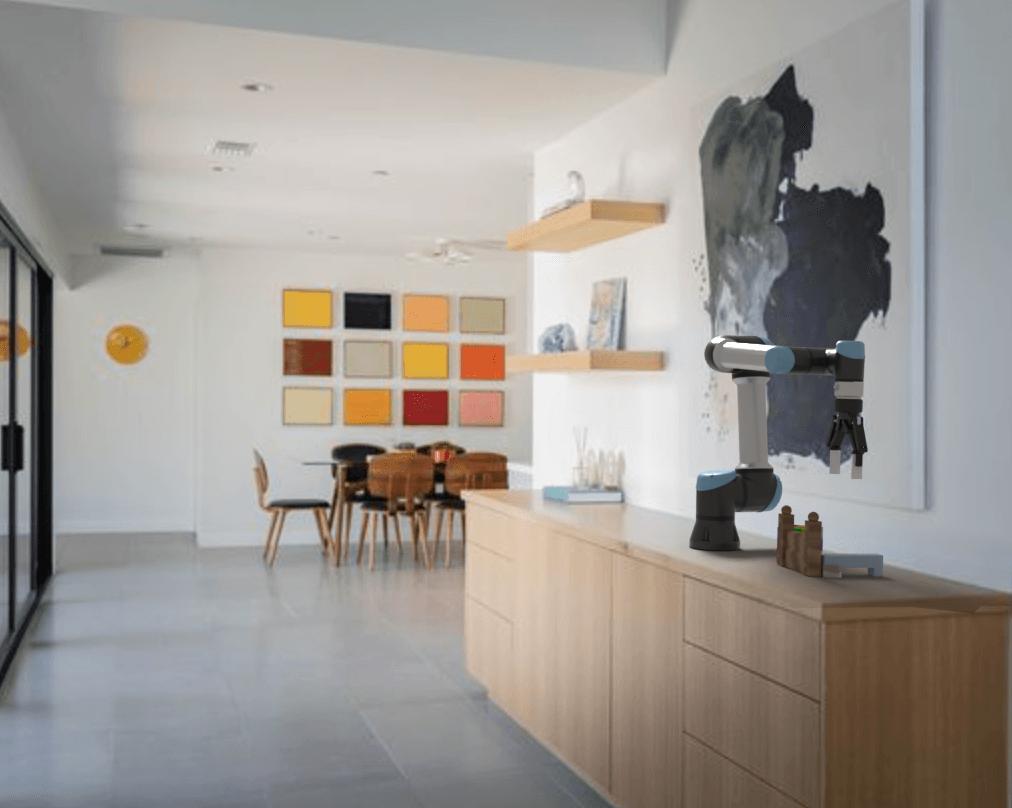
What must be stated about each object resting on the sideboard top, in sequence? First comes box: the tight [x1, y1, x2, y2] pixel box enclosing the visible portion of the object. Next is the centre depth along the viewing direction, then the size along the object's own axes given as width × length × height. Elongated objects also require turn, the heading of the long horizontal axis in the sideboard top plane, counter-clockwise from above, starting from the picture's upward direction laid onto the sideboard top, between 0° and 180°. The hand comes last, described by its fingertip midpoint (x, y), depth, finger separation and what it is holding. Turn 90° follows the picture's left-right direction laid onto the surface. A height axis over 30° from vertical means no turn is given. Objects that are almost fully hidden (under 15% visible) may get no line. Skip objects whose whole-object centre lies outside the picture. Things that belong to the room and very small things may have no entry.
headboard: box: [776, 505, 843, 579], centre depth 307 cm, size 22×8×16 cm, turn 10°
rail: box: [820, 553, 884, 577], centre depth 301 cm, size 4×16×5 cm, turn 99°
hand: (845, 476), depth 315 cm, fingers open, 13 cm apart
